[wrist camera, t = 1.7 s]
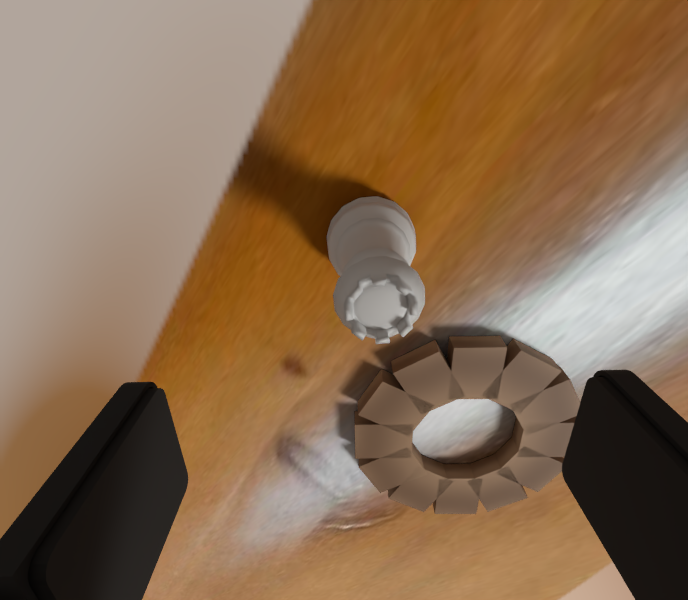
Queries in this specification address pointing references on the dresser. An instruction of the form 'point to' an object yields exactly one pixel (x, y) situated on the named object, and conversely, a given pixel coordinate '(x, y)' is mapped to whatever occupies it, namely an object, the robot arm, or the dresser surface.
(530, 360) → the walnut ring
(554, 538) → the dresser surface
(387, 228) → the rook chess piece
